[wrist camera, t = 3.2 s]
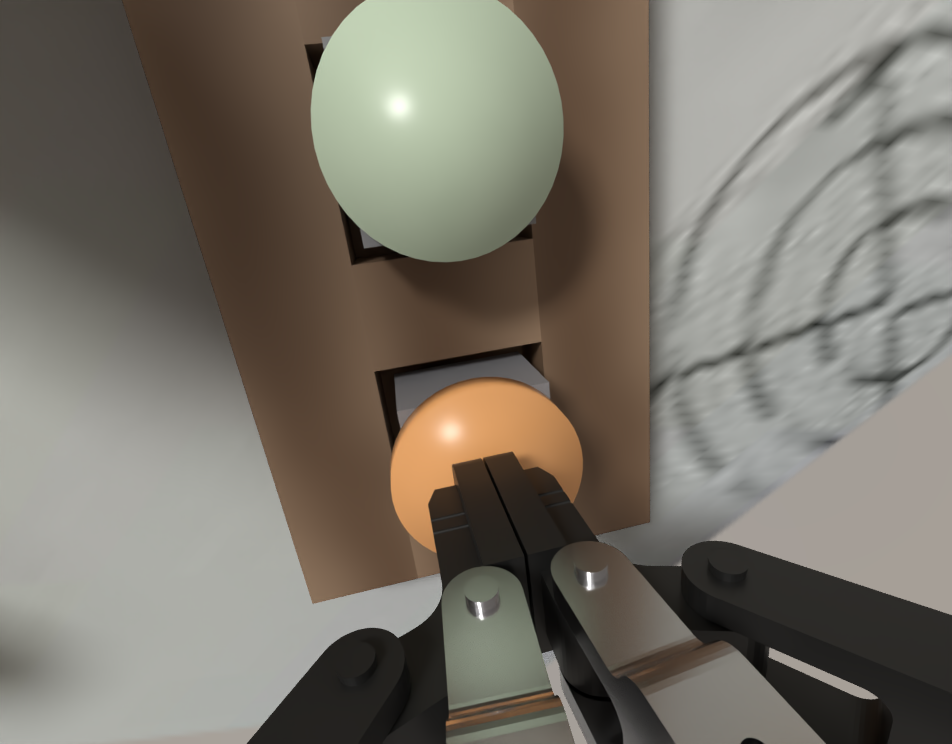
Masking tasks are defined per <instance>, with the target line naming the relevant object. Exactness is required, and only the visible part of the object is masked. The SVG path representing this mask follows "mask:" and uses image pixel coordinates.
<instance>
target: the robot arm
mask: <svg viewBox="0 0 952 744" xmlns="http://www.w3.org/2000/svg"><path fill="white" fill-rule="evenodd" d="M452 472H453V478H454V484H455V485H453V486H449V487H444V488H440V489H435V490H434V492H433V494H432V496H431V499H430V501H429V503H428V508H429V513H430V519H431V524H432V530H433V535H434V541H435V547H436V552H437V558H438V563H439V569H440V575H441V580H442V588H443V590H442V596H441V599H440V602H439V604H438V606H437V608H436V609H435V611H434V612H433V613H432V615H431V616H430V617H429V618H428V619H427V620H426V621H424V622H423V623H422V624H421V625H419V626H418V627H416V628H415V629H413V630H411V631H410V632H408V633H406V634H404V635H403V636H401V637H399V638H397V637H396V636H395V635H394V634H393V633H391V632H389V631H387V630H384V629H380V628H365V629H360V630H357V631H354V632H351V633H349V634H347V635H345V636H343V637H341V638H340V639H338V640H337V641H335V642H334V643H333V644H332V645H331V646H329V647H328V648H327V649H326V650H325V652H324V653H323V654H322V655H321V656H320V657H319V658H318V660H317V661H316V662H315V663H314V664H313V666H312V667H311V668H310V669H309V670H308V672H307V673H306V674H305V675H304V676H303V677H302V679H301V680H300V681H299V682H298V683H297V685H296V686H295V687H294V688H293V689H292V691H291V692H290V693H289V694H288V695H287V696H286V698H285V699H284V700H283V701H282V702H281V704H280V705H279V706H278V707H277V708H276V710H275V711H274V712H273V713H272V714H271V715H270V717H269V718H268V719H267V720H266V721H265V723H264V724H263V725H262V726H261V727H260V729H259V730H258V731H257V732H256V733H255V734H254V736H253V737H252V738H251V739H250V740H249V742H248V743H247V744H575V743H574V739H573V736H572V733H571V729H570V726H569V723H568V719H567V716H566V713H565V710H564V707H563V705H562V702H561V700H560V698H559V696H558V695H556V696H554V693H553V691H552V688H551V684H550V681H549V678H548V674H547V671H546V667H545V664H544V660H543V657H542V653H544V652H548V651H551V650H553V652H554V654H555V656H556V659H557V661H558V664H559V668H560V679H561V686H562V690H563V693H564V695H565V697H566V699H567V701H568V704H569V706H570V708H571V710H572V712H573V714H574V716H575V718H576V720H577V722H578V725H579V727H580V729H581V731H582V733H583V735H584V737H585V739H586V741H587V743H588V744H952V615H949V614H946V613H943V612H940V611H937V610H934V609H931V608H928V607H925V606H922V605H918V604H916V603H913V602H910V601H907V600H904V599H901V598H897V597H894V596H891V595H888V594H886V593H882V592H879V591H876V590H873V589H870V588H867V587H864V586H861V585H858V584H855V583H852V582H849V581H846V580H843V579H840V578H837V577H834V576H831V575H828V574H825V573H822V572H819V571H816V570H813V569H810V568H807V567H803V566H800V565H797V564H794V563H791V562H788V561H785V560H782V559H779V558H776V557H773V556H770V555H767V554H764V553H761V552H757V551H755V550H752V549H749V548H746V547H742V546H739V545H736V544H733V543H728V542H722V541H706V542H701V543H698V544H695V545H693V546H691V547H690V548H688V549H687V550H686V551H685V553H684V554H683V557H682V566H643V565H637V564H632V563H631V562H630V561H629V559H628V558H627V557H626V556H625V555H624V554H623V553H622V552H620V551H619V550H618V549H616V548H614V547H612V546H610V545H607V544H605V543H601V542H599V541H598V540H597V538H596V537H595V535H594V534H593V532H592V531H591V529H590V528H589V526H588V525H587V524H586V522H585V521H584V519H583V518H582V516H581V515H580V513H579V512H578V510H577V509H576V508H575V506H574V505H573V503H571V502H570V499H569V497H568V496H567V494H566V493H565V492H563V489H562V487H561V486H560V484H559V483H558V481H557V480H556V478H555V477H554V476H553V475H551V474H550V473H548V472H546V471H545V470H543V469H541V468H539V467H534V468H530V469H525V470H523V468H522V466H521V465H520V463H519V461H518V459H517V458H516V456H515V454H514V453H513V452H512V451H511V452H507V453H502V454H497V455H493V456H488V457H483V460H482V459H481V458H479V459H474V460H470V461H465V462H461V463H456V464H452ZM769 647H770V648H773V649H775V650H777V651H779V652H782V653H784V654H786V655H789V656H791V657H793V658H795V659H798V660H800V661H802V662H805V663H807V664H809V665H812V666H814V667H816V668H818V669H821V670H823V671H825V672H827V673H830V674H832V675H834V676H837V677H839V678H841V679H843V680H846V681H848V682H850V683H853V684H855V685H857V686H859V687H862V688H864V689H866V690H868V691H870V692H871V693H873V694H874V695H875V696H877V697H878V699H872V700H870V699H862V698H859V697H856V696H853V695H851V694H849V693H846V692H844V691H842V690H840V689H837V688H835V687H833V686H831V685H828V684H826V683H824V682H822V681H820V680H818V679H815V678H813V677H811V676H809V675H806V674H804V673H802V672H800V671H798V670H795V669H793V668H791V667H789V666H786V665H784V664H782V663H780V662H778V661H775V660H773V659H771V658H769V657H768V656H769Z"/></svg>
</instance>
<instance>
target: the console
mask: <svg viewBox="0 0 952 744" xmlns="http://www.w3.org/2000/svg"><path fill="white" fill-rule="evenodd" d="M364 1H365V0H122V2H123V5H124V8H125V12H126V15H127V18H128V21H129V24H130V27H131V31H132V34H133V37H134V40H135V43H136V46H137V50H138V53H139V56H140V59H141V62H142V65H143V69H144V72H145V75H146V78H147V81H148V84H149V88H150V91H151V94H152V97H153V100H154V103H155V106H156V110H157V113H158V116H159V119H160V122H161V125H162V129H163V132H164V135H165V138H166V141H167V144H168V148H169V151H170V154H171V157H172V160H173V163H174V167H175V170H176V173H177V176H178V179H179V182H180V186H181V189H182V192H183V195H184V198H185V201H186V204H187V208H188V211H189V214H190V217H191V220H192V223H193V227H194V230H195V233H196V236H197V239H198V242H199V246H200V249H201V252H202V255H203V258H204V261H205V265H206V268H207V271H208V274H209V277H210V280H211V284H212V287H213V290H214V293H215V296H216V299H217V302H218V306H219V309H220V312H221V315H222V318H223V321H224V325H225V328H226V331H227V334H228V337H229V340H230V344H231V347H232V350H233V353H234V356H235V359H236V363H237V366H238V369H239V372H240V375H241V378H242V382H243V385H244V388H245V391H246V394H247V397H248V400H249V404H250V407H251V410H252V413H253V416H254V419H255V423H256V426H257V429H258V432H259V435H260V438H261V442H262V445H263V448H264V451H265V454H266V457H267V461H268V464H269V467H270V470H271V473H272V476H273V479H274V483H275V486H276V489H277V492H278V495H279V498H280V502H281V505H282V508H283V511H284V514H285V517H286V521H287V524H288V527H289V530H290V533H291V536H292V540H293V543H294V546H295V549H296V552H297V555H298V559H299V562H300V565H301V568H302V571H303V574H304V577H305V581H306V584H307V587H308V590H309V593H310V596H311V600H312V603H313V604H314V603H318V602H322V601H326V600H330V599H334V598H338V597H343V596H347V595H351V594H355V593H359V592H363V591H367V590H372V589H376V588H380V587H384V586H388V585H392V584H396V583H400V582H405V581H409V580H413V579H417V578H421V577H425V576H429V575H434V574H438V573H440V569H439V563H438V558H437V553H435V552H433V551H431V550H429V549H428V548H426V547H424V546H423V545H422V544H420V543H419V542H418V541H417V540H415V539H414V538H413V537H412V536H411V535H410V534H409V533H408V531H407V530H406V529H405V527H404V526H403V524H402V523H401V521H400V519H399V517H398V515H397V513H396V511H395V508H394V504H393V501H392V494H391V477H390V462H391V455H392V450H393V447H394V443H395V440H396V438H397V436H398V434H399V431H400V424H399V419H398V414H397V406H396V393H395V380H394V374H396V373H402V372H407V371H413V370H418V369H424V368H429V367H435V366H440V365H446V364H451V363H457V362H462V361H468V360H473V359H479V358H484V357H490V356H496V355H501V354H507V353H512V352H519V353H520V354H521V355H522V356H523V357H524V358H525V359H526V360H527V361H528V362H529V363H530V364H531V365H532V366H533V367H534V368H535V369H536V370H537V371H538V372H539V373H540V374H541V375H542V376H543V377H544V378H545V379H546V380H547V381H548V382H549V389H550V400H551V401H552V402H553V403H554V404H555V405H556V406H557V407H558V409H559V410H560V411H561V412H562V413H563V414H564V415H565V416H566V417H567V419H568V420H569V421H570V423H571V424H572V426H573V427H574V429H575V432H576V434H577V436H578V438H579V442H580V445H581V449H582V456H583V472H582V479H581V483H580V487H579V490H578V493H577V495H576V498H575V500H574V502H573V505H574V506H575V508H576V509H577V510H578V512H579V513H580V515H581V516H582V518H583V519H584V521H585V522H586V524H587V525H588V526H589V528H590V529H591V531H592V532H593V534H594V535H599V534H603V533H607V532H611V531H615V530H620V529H624V528H628V527H632V526H636V525H640V524H644V523H649V522H650V376H649V0H498V1H499V2H500V3H502V4H503V5H505V6H506V7H508V8H509V9H510V10H511V11H512V12H513V13H514V14H515V15H516V16H517V17H518V18H519V19H521V20H522V22H523V23H524V24H525V25H526V26H527V28H528V29H529V30H530V31H531V32H532V34H533V35H534V37H535V38H536V40H537V41H538V43H539V44H540V46H541V47H542V49H543V51H544V53H545V55H546V57H547V59H548V61H549V63H550V65H551V67H552V70H553V73H554V76H555V78H556V81H557V84H558V89H559V93H560V97H561V102H562V111H563V130H564V137H563V146H562V155H561V159H560V163H559V168H558V172H557V175H556V177H555V180H554V183H553V186H552V188H551V190H550V192H549V194H548V196H547V198H546V200H545V202H544V204H543V205H542V207H541V208H540V210H539V211H538V213H537V214H536V224H530V225H527V226H526V227H525V228H524V229H523V230H522V231H521V232H520V233H519V234H518V235H517V236H515V237H514V238H513V239H511V240H510V241H509V242H507V243H506V244H504V245H503V246H501V247H499V248H497V249H495V250H494V251H492V252H490V253H487V254H484V255H482V256H479V257H476V258H472V259H468V260H463V261H455V262H431V261H425V260H420V259H415V258H412V257H409V256H406V255H403V254H400V253H398V252H396V251H394V250H392V249H389V248H387V247H385V246H377V247H370V248H364V246H363V241H362V236H361V231H360V227H358V226H357V225H356V223H355V222H354V221H353V220H352V219H351V218H350V217H349V216H348V215H347V214H346V212H345V211H344V210H343V208H342V207H341V206H340V204H339V203H338V202H337V200H336V199H335V197H334V195H333V193H332V192H331V190H330V188H329V186H328V184H327V182H326V180H325V178H324V175H323V173H322V170H321V168H320V165H319V162H318V158H317V155H316V151H315V148H314V142H313V136H312V129H311V100H312V89H313V85H314V80H315V76H316V71H317V68H318V65H319V63H320V60H321V57H322V54H323V52H324V48H323V43H322V38H321V37H330V36H332V35H333V34H334V32H335V31H336V30H337V28H338V27H339V25H340V24H341V23H342V21H343V20H344V19H345V18H346V17H347V16H348V15H349V14H350V13H351V12H352V11H353V10H354V9H355V8H356V7H357V6H358V5H360V4H361V3H363V2H364Z"/></svg>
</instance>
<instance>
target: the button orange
mask: <svg viewBox="0 0 952 744" xmlns="http://www.w3.org/2000/svg"><path fill="white" fill-rule="evenodd" d="M394 380H395V393H396V406H397V414H398V419H399V424H400V431H399V434H398V436H397V438H396V440H395V443H394V447H393V450H392V455H391V462H390V477H391V494H392V501H393V504H394V508H395V511H396V513H397V515H398V517H399V519H400V521H401V523H402V524H403V526H404V527H405V529H406V530H407V531H408V533H409V534H410V535H411V536H412V537H413V538H414V539H415V540H417V541H418V542H419V543H420V544H422V545H423V546H424V547H426V548H428V549H429V550H431V551H433V552H435V553H437V552H436V547H435V541H434V535H433V530H432V524H431V519H430V513H429V508H428V503H429V501H430V499H431V496H432V494H433V492H434V490H435V489H440V488H444V487H449V486H453V485H455V484H454V478H453V472H452V464H456V463H461V462H465V461H470V460H474V459H479V458H481V459H482V460H483V457H488V456H493V455H497V454H502V453H507V452H511V451H512V452H513V453H514V454H515V456H516V458H517V459H518V461H519V463H520V465H521V466H522V468H523V470H525V469H530V468H534V467H539V468H541V469H543V470H545V471H546V472H548V473H550V474H551V475H553V476H554V477H555V478H556V480H557V481H558V483H559V484H560V486H561V487H562V489H563V492H565V493H566V494H567V496H568V497H569V499H570V502H571V503H573V502H574V500H575V498H576V495H577V493H578V490H579V487H580V483H581V479H582V472H583V456H582V449H581V445H580V442H579V438H578V436H577V434H576V432H575V429H574V427H573V426H572V424H571V423H570V421H569V420H568V419H567V417H566V416H565V415H564V414H563V413H562V412H561V411H560V410H559V409H558V407H557V406H556V405H555V404H554V403H553V402H552V401H551V400H550V389H549V382H548V381H547V380H546V379H545V378H544V377H543V376H542V375H541V374H540V373H539V372H538V371H537V370H536V369H535V368H534V367H533V366H532V365H531V364H530V363H529V362H528V361H527V360H526V359H525V358H524V357H523V356H522V355H521V354H520V353H519V352H512V353H507V354H501V355H496V356H490V357H484V358H479V359H473V360H468V361H462V362H457V363H451V364H446V365H440V366H435V367H429V368H424V369H418V370H413V371H407V372H402V373H396V374H394Z"/></svg>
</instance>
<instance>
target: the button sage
mask: <svg viewBox="0 0 952 744" xmlns="http://www.w3.org/2000/svg"><path fill="white" fill-rule="evenodd" d="M321 38H322V43H323V48H324V52H323V54H322V57H321V60H320V63H319V65H318V68H317V71H316V76H315V80H314V85H313V89H312V100H311V129H312V136H313V142H314V148H315V151H316V155H317V158H318V162H319V165H320V168H321V170H322V173H323V175H324V178H325V180H326V182H327V184H328V186H329V188H330V190H331V192H332V193H333V195H334V197H335V199H336V200H337V202H338V203H339V204H340V206H341V207H342V208H343V210H344V211H345V212H346V214H347V215H348V216H349V217H350V218H351V219H352V220H353V221H354V222H355V223H356V225H357V226H358V227H360V231H361V236H362V241H363V246H364V248H370V247H377V246H385V247H387V248H389V249H392V250H394V251H396V252H398V253H400V254H403V255H406V256H409V257H412V258H415V259H420V260H425V261H431V262H455V261H463V260H468V259H472V258H476V257H479V256H482V255H484V254H487V253H490V252H492V251H494V250H495V249H497V248H499V247H501V246H503V245H504V244H506V243H507V242H509V241H510V240H511V239H513V238H514V237H515V236H517V235H518V234H519V233H520V232H521V231H522V230H523V229H524V228H525V227H526V226H527V225H530V224H536V214H537V213H538V211H539V210H540V208H541V207H542V205H543V204H544V202H545V200H546V198H547V196H548V194H549V192H550V190H551V188H552V186H553V183H554V180H555V177H556V175H557V172H558V168H559V163H560V159H561V155H562V146H563V137H564V130H563V111H562V102H561V97H560V93H559V89H558V84H557V81H556V78H555V76H554V73H553V70H552V67H551V65H550V63H549V61H548V59H547V57H546V55H545V53H544V51H543V49H542V47H541V46H540V44H539V43H538V41H537V40H536V38H535V37H534V35H533V34H532V32H531V31H530V30H529V29H528V28H527V26H526V25H525V24H524V23H523V22H522V20H521V19H519V18H518V17H517V16H516V15H515V14H514V13H513V12H512V11H511V10H510V9H509V8H508V7H506V6H505V5H503V4H502V3H500V2H499V1H498V0H365V1H364V2H363V3H361V4H360V5H358V6H357V7H356V8H355V9H354V10H353V11H352V12H351V13H350V14H349V15H348V16H347V17H346V18H345V19H344V20H343V21H342V23H341V24H340V25H339V27H338V28H337V30H336V31H335V32H334V34H333V35H332V36H330V37H321Z"/></svg>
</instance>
